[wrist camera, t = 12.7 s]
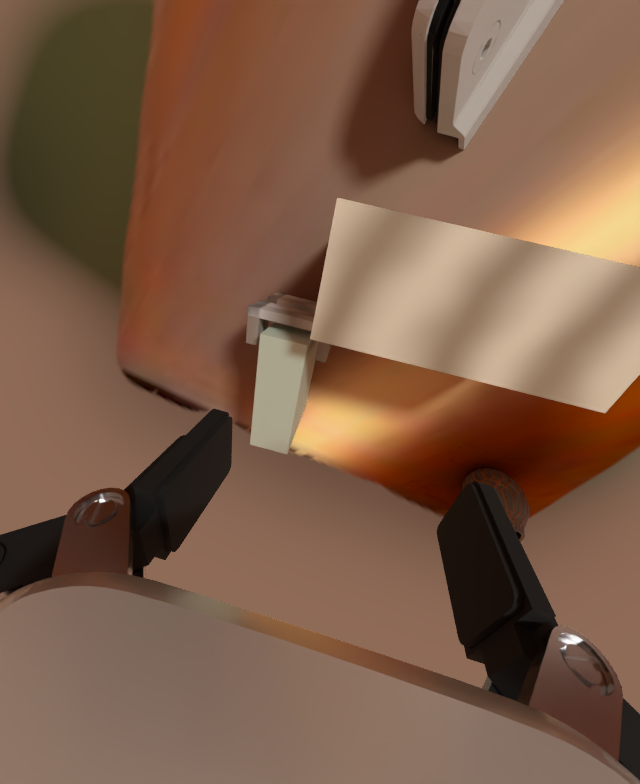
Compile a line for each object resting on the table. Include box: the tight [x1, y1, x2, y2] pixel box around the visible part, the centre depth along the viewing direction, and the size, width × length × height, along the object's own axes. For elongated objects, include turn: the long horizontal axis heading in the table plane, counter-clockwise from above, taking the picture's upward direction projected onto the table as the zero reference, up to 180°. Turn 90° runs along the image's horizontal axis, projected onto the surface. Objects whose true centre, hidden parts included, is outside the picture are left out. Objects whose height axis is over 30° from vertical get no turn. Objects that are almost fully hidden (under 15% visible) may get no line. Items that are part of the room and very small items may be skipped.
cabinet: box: [246, 198, 640, 413], centre depth 22 cm, size 26×11×13 cm, turn 78°
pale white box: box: [250, 322, 319, 454], centre depth 29 cm, size 5×12×10 cm, turn 168°
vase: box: [462, 468, 529, 542], centre depth 33 cm, size 7×7×9 cm
